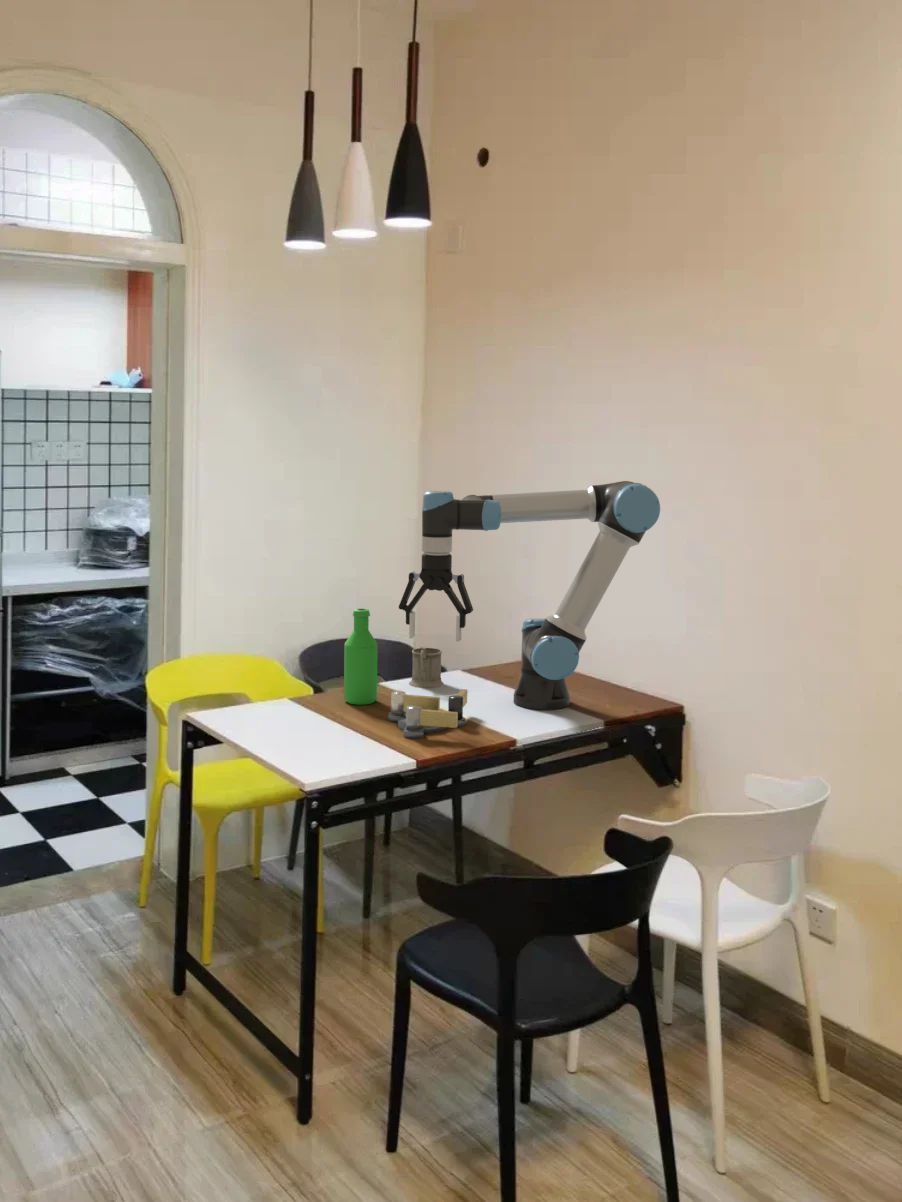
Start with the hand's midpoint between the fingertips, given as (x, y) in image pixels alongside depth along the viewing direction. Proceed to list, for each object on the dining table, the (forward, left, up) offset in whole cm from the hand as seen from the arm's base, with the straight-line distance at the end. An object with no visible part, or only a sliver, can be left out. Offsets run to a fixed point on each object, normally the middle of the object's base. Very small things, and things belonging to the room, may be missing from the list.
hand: (435, 638), depth 286 cm
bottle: (+22, -8, -20) cm, 31 cm away
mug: (+10, -31, -20) cm, 38 cm away
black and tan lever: (-7, +2, -19) cm, 20 cm away
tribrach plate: (0, +12, -20) cm, 24 cm away
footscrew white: (+3, +6, -19) cm, 20 cm away
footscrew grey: (-4, +19, -19) cm, 27 cm away
